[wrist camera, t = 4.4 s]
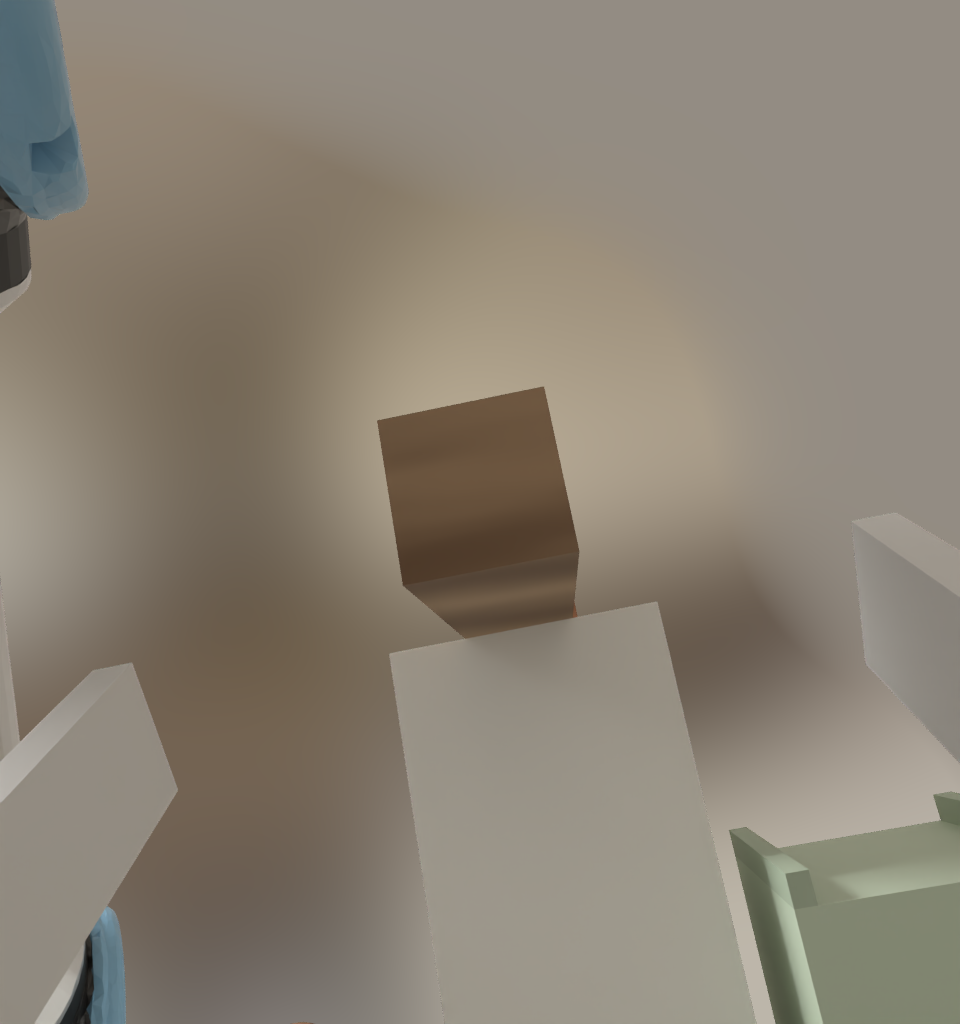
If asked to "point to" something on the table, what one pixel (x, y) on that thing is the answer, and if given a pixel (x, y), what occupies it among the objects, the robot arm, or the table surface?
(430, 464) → the bar
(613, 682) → the tall white pillar
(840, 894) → the mint green upright block
